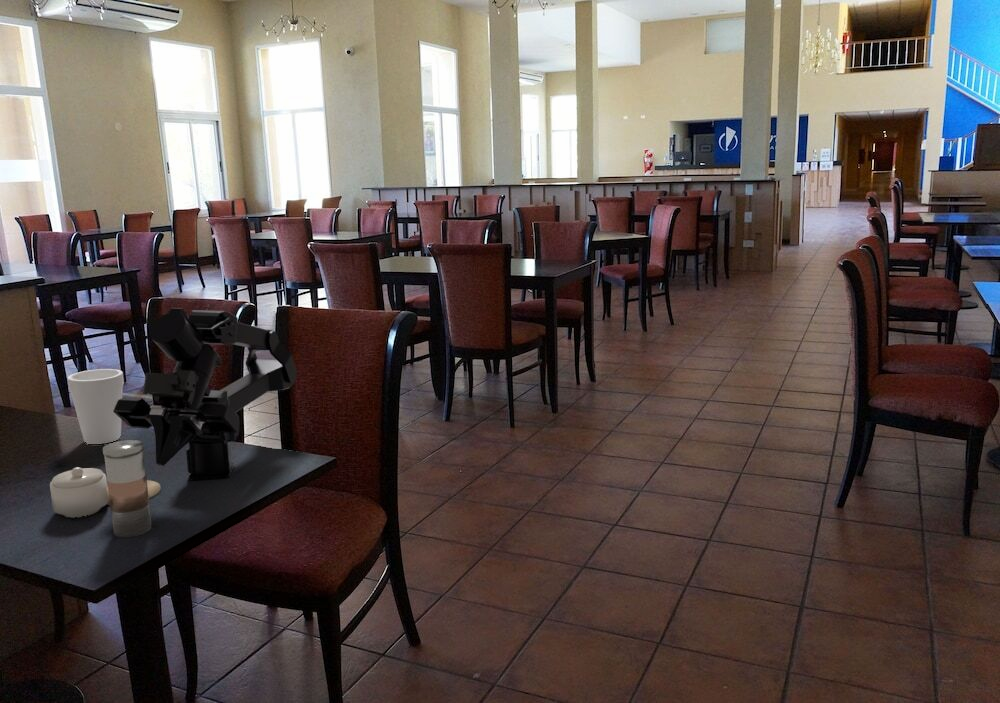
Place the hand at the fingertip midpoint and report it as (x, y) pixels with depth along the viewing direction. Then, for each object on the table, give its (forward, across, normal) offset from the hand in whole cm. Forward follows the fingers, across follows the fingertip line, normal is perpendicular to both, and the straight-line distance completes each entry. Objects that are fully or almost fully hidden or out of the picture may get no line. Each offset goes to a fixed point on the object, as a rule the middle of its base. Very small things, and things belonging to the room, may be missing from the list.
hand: (159, 464), depth 122 cm
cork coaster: (+2, -9, +8) cm, 12 cm away
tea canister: (+11, 0, -1) cm, 11 cm away
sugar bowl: (+7, -12, +3) cm, 14 cm away
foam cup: (-14, -30, +25) cm, 41 cm away
